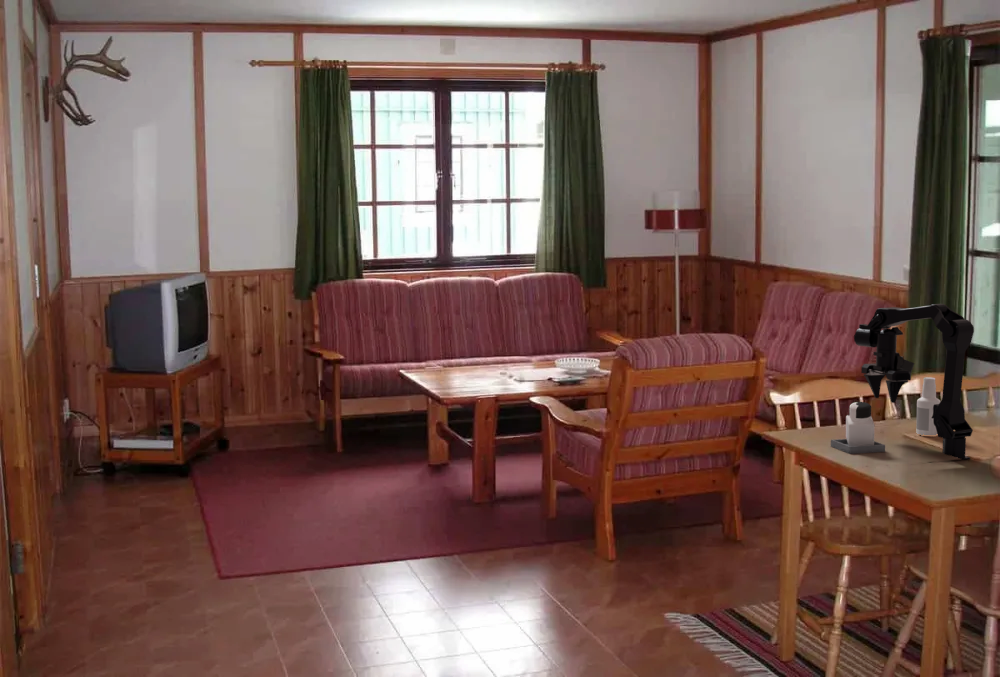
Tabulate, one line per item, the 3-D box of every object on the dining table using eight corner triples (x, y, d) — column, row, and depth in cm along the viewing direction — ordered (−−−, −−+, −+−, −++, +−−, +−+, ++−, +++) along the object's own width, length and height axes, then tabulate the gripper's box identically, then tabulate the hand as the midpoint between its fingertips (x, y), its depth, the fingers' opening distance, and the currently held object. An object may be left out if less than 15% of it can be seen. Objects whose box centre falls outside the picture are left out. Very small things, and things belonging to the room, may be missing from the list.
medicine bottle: (870, 436, 352) (871, 399, 348) (874, 446, 346) (875, 408, 342) (845, 437, 353) (846, 399, 350) (848, 447, 347) (849, 409, 343)
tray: (885, 451, 344) (885, 444, 344) (849, 453, 341) (849, 446, 341) (865, 444, 355) (865, 437, 354) (830, 446, 352) (830, 439, 352)
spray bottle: (919, 433, 372) (921, 375, 370) (942, 435, 368) (943, 377, 366) (913, 436, 366) (914, 378, 365) (936, 438, 363) (937, 380, 361)
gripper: (927, 351, 352) (926, 404, 353) (893, 344, 370) (892, 394, 371) (893, 353, 349) (892, 405, 351) (861, 346, 367) (859, 396, 369)
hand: (884, 400), depth 361 cm, fingers open, 9 cm apart
